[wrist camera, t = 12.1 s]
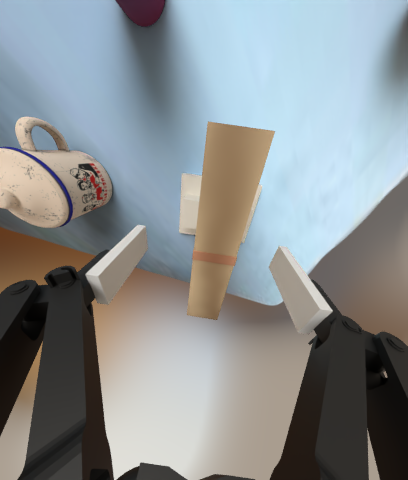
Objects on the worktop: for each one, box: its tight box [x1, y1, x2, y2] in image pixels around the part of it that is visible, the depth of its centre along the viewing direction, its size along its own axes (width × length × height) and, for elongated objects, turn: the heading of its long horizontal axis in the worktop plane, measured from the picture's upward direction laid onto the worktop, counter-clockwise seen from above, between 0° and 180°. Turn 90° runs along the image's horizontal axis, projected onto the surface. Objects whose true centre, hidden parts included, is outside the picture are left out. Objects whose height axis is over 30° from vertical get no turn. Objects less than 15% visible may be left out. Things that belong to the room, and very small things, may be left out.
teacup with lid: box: [0, 117, 112, 228], centre depth 19 cm, size 12×9×12 cm
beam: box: [187, 122, 275, 320], centre depth 16 cm, size 4×20×6 cm, turn 173°
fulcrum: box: [179, 173, 262, 243], centre depth 22 cm, size 12×10×7 cm
